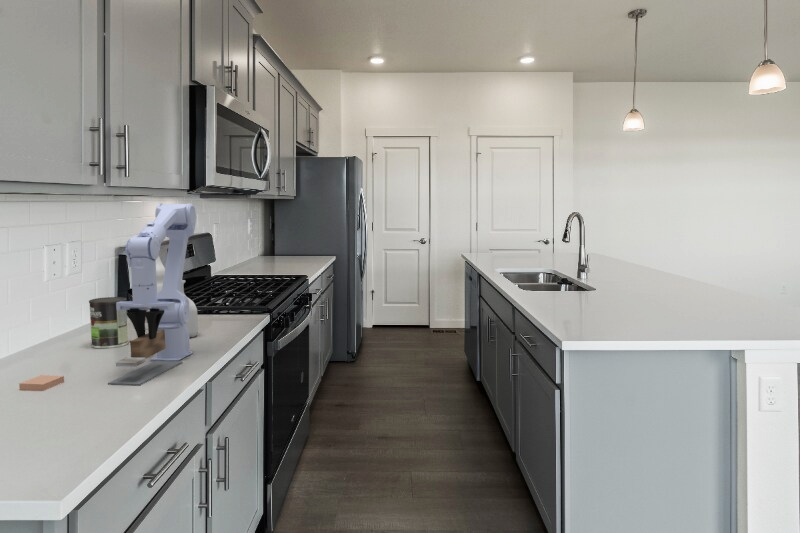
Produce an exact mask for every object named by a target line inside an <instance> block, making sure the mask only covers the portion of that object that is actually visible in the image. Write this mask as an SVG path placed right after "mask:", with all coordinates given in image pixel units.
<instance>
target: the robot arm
mask: <svg viewBox="0 0 800 533" xmlns="http://www.w3.org/2000/svg"><path fill="white" fill-rule="evenodd" d="M196 213H197V211H196V208H195V206H194V204H192V202H191V203H190V202H188V203H158V205H156V207H155V214H154V215H155V219H154V220H153V221H148V222H147V223H146V225H144V227H143V228H142V229H141V231H140V232H139V233H138V234H137V236H132V237H131V238H129V239H127V241H126V245H125V255H126V257H127V260H128V266H129V267H130V271H131V272H130V273H131V289H132V290H131V292H132V300H129V301H128V300H126V301H120V302H116V309H117V310H126V311H127V318H128V319H129V321H130V322H131V324H132V325H133V328H134V330H135V333H136V337H137V338H138V337H141V336H143V335H145V334H146V329H145V317H146V319H147V323H148V329H147V331H148V333H149V339H154V338H156V334H157V330H164V331H165V346H166V349H164V350H162V351H160V352H158V353H156V355H155V356H153V357H152V358H151V357H150V361H180V360H182V359H184V358H187V357H188V356H190V355H192V354H193V351H191V350H190V349H191V346H190V345H191V344H190V337H189V330H188V328H187V327H186V326H185V324H186V323H187V322H188V320H189V315H190V311H189V300H188V298H189V297H188V296H187V295H186V294H185V295H186V296H185V295H183V294H182V293H181V284H182V280H183V275H184V268H185V264H186V263H185V261H186V254H187V247H188V241H189V238H191V236H193V235H194V234H195V229H196V221H197V214H196ZM166 238H168V240H169V242H168V249H167V255H166V261H165V266H164V267H165V273H164V280H163V286H162V290H161V291H160V292H159V293H157V279H156V259H157V258H158V256H159V257H160V249H161V244H162V243H163V242H164V241H165V239H166ZM187 297H188V298H187ZM140 307H149V308H140ZM128 310H129V311H128ZM147 310H148V312H146V311H147Z"/></svg>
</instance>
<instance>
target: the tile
mask: <svg viewBox="0 0 800 533" xmlns="http://www.w3.org/2000/svg"><path fill="white" fill-rule="evenodd" d="M60 383H61V384H64V383H65V376H64V375H50V374H48V375H45V374H44V375H43V374H41V375H38V376H35V377H32V378H29V379H27V380H25V381H23V382H19V383H18V385H19V391H40V392H45V391H47V390H49V389H51V388H53V387H56V386H59V385H61V384H60ZM58 384H59V385H58Z"/></svg>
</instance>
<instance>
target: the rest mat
mask: <svg viewBox="0 0 800 533" xmlns="http://www.w3.org/2000/svg"><path fill="white" fill-rule="evenodd" d="M183 363H184V362H183V361H180V360H178V361H154V360H152V361H151V362H149V363H147V364H144V365H142V366H141V367H138V368H137V369H134V370H132V371H130V372H128V373H126V374H123V375H122V376H120V377H117V378H115V379H113V380H111V381H109V382H107V385H109V384H111V385H109V386H136V385H140V386H142V385H144V384H146V383H147V381H148V382H149V381H151V380H154V379H155V378H157V377H159V376H161V375H163V374H165V373H166V372H169V371H170V370H172V369H174V368H176V367H178V366H179V365H182V364H183ZM145 382H146V383H145ZM143 383H144V384H143ZM141 384H142V385H141Z"/></svg>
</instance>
